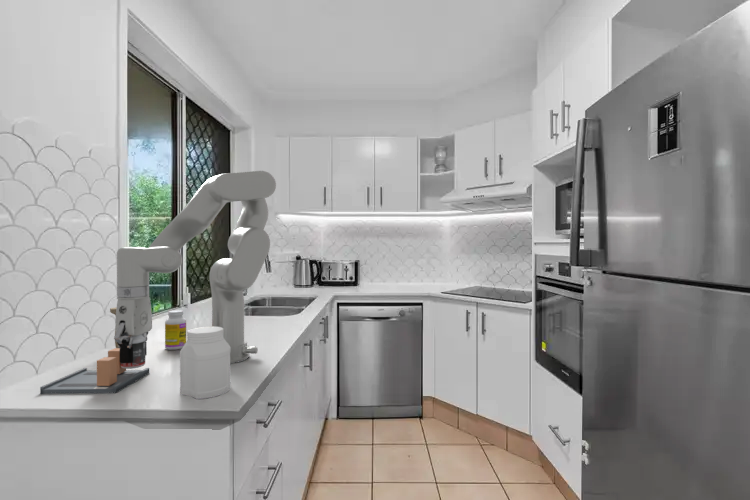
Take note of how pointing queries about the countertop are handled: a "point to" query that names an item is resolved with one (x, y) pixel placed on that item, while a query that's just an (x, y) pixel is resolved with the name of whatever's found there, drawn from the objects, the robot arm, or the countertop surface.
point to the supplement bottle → (175, 330)
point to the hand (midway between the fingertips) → (133, 358)
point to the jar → (205, 363)
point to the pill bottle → (136, 353)
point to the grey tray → (91, 382)
